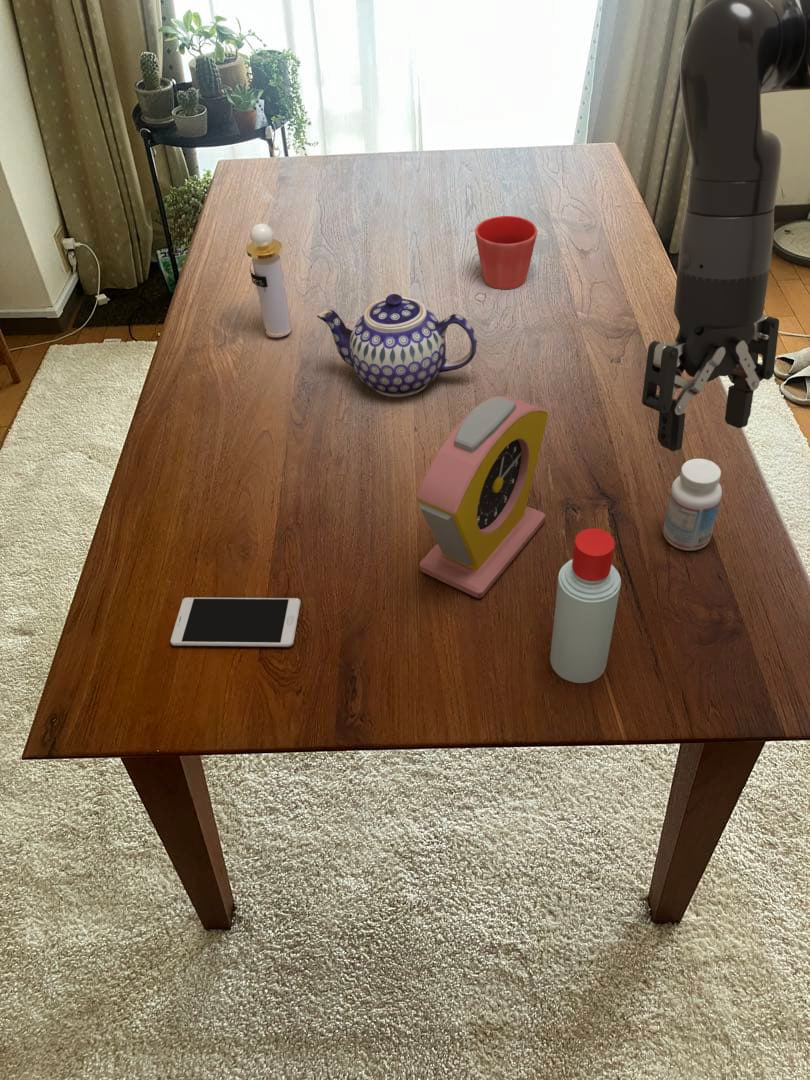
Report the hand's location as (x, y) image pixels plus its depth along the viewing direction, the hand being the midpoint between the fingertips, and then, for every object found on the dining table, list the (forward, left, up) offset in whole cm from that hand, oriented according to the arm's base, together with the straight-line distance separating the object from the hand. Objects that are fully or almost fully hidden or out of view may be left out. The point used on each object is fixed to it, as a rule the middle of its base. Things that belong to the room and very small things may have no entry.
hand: (703, 436), depth 85 cm
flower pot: (+82, -16, -29) cm, 89 cm away
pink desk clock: (+20, +14, -29) cm, 38 cm away
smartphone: (+19, +47, -29) cm, 58 cm away
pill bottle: (+12, -11, -29) cm, 33 cm away
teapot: (+60, +12, -29) cm, 68 cm away
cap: (-1, +11, -13) cm, 17 cm away
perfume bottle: (+81, +27, -29) cm, 90 cm away
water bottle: (-1, +11, -29) cm, 31 cm away
